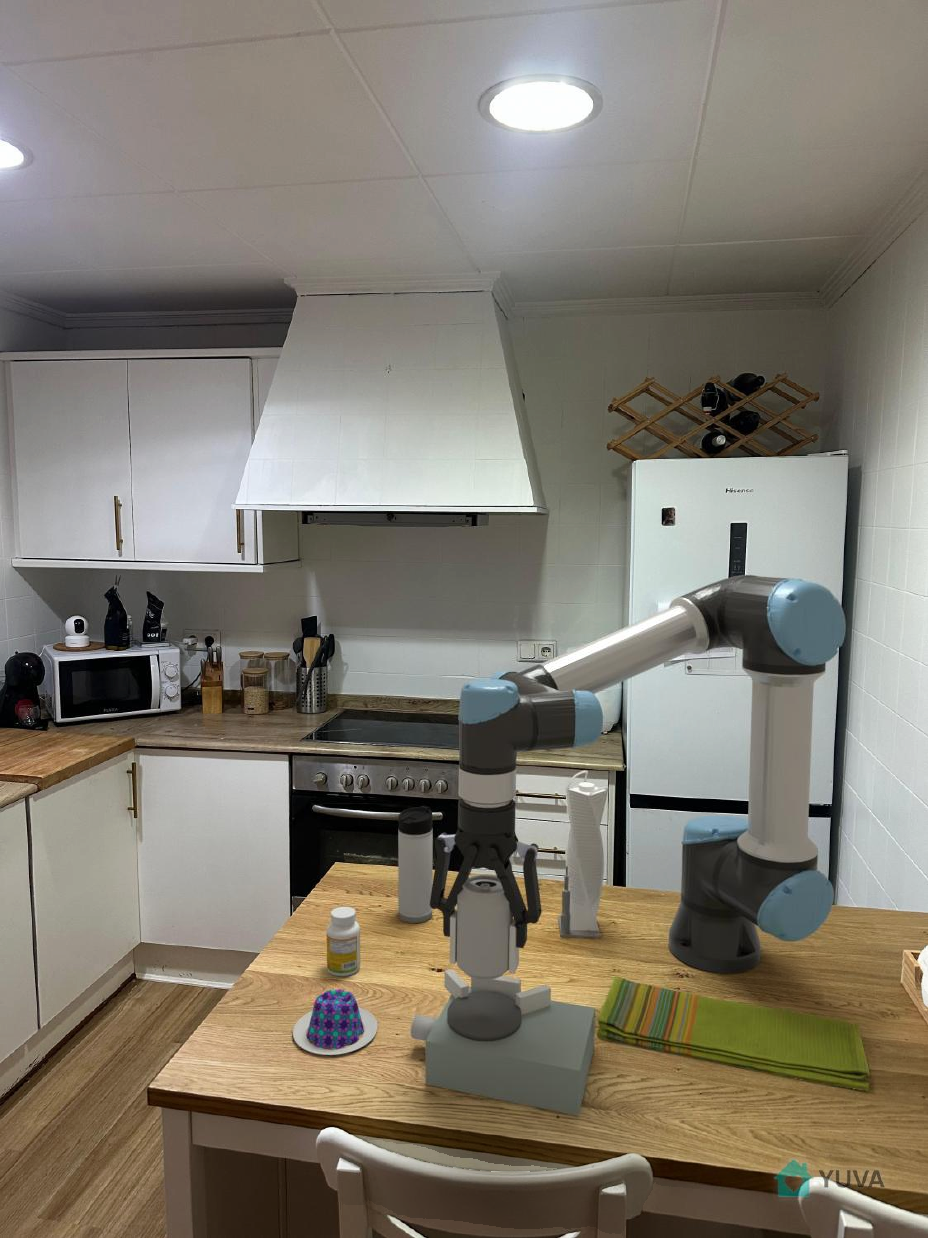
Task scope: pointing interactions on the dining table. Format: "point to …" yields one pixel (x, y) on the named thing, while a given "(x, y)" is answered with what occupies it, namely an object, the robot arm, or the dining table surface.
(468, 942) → the can
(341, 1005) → the pudding
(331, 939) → the supplement bottle
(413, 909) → the travel mug
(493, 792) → the robot arm
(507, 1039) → the gearbox
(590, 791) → the skyscraper
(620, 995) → the dish towel
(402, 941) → the dining table surface
